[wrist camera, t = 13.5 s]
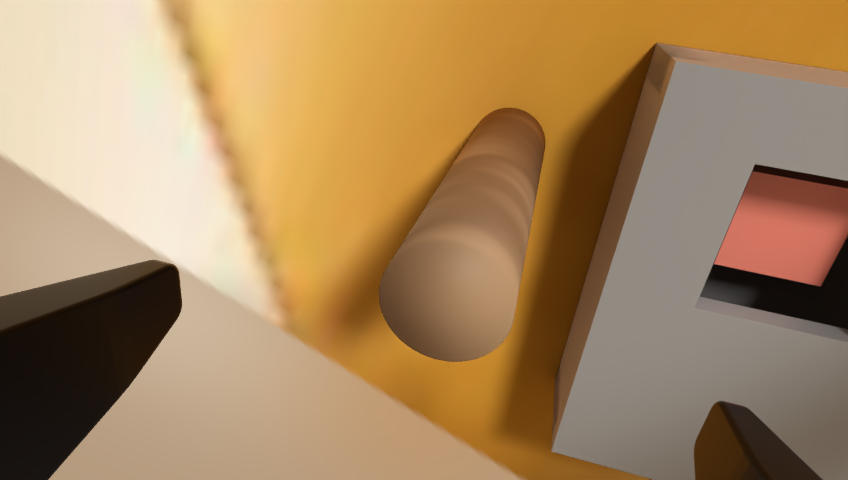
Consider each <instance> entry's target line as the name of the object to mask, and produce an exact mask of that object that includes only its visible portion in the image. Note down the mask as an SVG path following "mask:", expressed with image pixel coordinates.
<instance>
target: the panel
mask: <svg viewBox="0 0 848 480" xmlns="http://www.w3.org/2000/svg"><path fill="white" fill-rule="evenodd" d="M755 164H758V165H763V166H769V167H774V168H780V169H785V170H791V171H796V172H802V173H807V174H813V175H818V176H824V177H829V178H835V179H840V180H846V181H848V72H843V71H837V70H830V69H824V68H817V67H811V66H804V65H797V64H791V63H784V62H778V61H771V60H765V59H758V58H752V57H745V56H739V55H732V54H725V53H719V52H712V51H706V50H699V49H693V48H686V47H680V46H673V45H667V44H660V43H656V45H655V49H654V52H653V55H652V59H651V62H650V65H649V69H648V72H647V75H646V79H645V82H644V85H643V89H642V92H641V95H640V99H639V102H638V105H637V109H636V112H635V115H634V119H633V122H632V125H631V129H630V132H629V136H628V139H627V142H626V146H625V149H624V152H623V156H622V159H621V162H620V166H619V169H618V172H617V176H616V179H615V182H614V186H613V189H612V192H611V196H610V199H609V202H608V206H607V209H606V212H605V216H604V219H603V222H602V226H601V229H600V233H599V236H598V239H597V243H596V246H595V249H594V253H593V256H592V259H591V263H590V266H589V269H588V273H587V276H586V279H585V283H584V286H583V289H582V293H581V296H580V299H579V303H578V306H577V309H576V313H575V316H574V319H573V323H572V326H571V330H570V333H569V336H568V340H567V343H566V346H565V350H564V353H563V356H562V360H561V363H560V366H559V370H558V373H557V376H556V380H555V391H554V410H553V429H552V448H551V452H555V453H558V454H562V455H566V456H569V457H573V458H577V459H580V460H584V461H588V462H591V463H595V464H598V465H602V466H606V467H609V468H613V469H617V470H620V471H624V472H627V473H631V474H635V475H638V476H642V477H646V478H649V479H653V480H695V468H694V446H695V441H696V438H697V436H698V434H699V432H700V430H701V428H702V426H703V424H704V422H705V420H706V418H707V416H708V413H709V411H710V409H711V407H712V406H713V405H714V404H715V403H716V402H718V401H725V402H729V403H733V404H737V405H741V406H745V407H747V408H748V409H750V410H751V411H752V412H753V413H754V414H755V415H756V416H757V417H758V418H759V419H760V420H761V421H762V422H763V423H764V424H765V425H766V426H768V427H769V428H770V429H771V430H772V431H773V432H774V433H775V434H776V435H777V436H778V437H779V438H780V439H781V440H782V441H783V442H784V443H785V444H786V445H787V446H788V447H789V448H790V449H791V450H793V451H794V452H795V453H796V454H797V455H798V456H799V457H800V458H801V459H802V460H803V461H804V462H805V463H806V464H807V465H808V466H809V467H810V468H811V469H812V470H813V471H814V472H815V473H816V474H818V475H819V476H820V477H821V478H822V479H823V480H848V236H847V238H846V240H845V242H844V244H843V246H842V247H841V249H840V251H839V253H838V255H837V257H836V259H835V261H834V262H833V264H832V266H831V268H830V270H829V272H828V274H827V276H826V277H825V279H824V281H823V283H822V285H821V286H816V285H811V284H806V283H802V282H797V281H792V280H788V279H783V278H778V277H773V276H769V275H764V274H759V273H754V272H750V271H745V270H740V269H736V268H731V267H726V266H721V265H717V264H714V261H715V258H716V256H717V254H718V251H719V249H720V246H721V244H722V242H723V239H724V237H725V235H726V232H727V230H728V227H729V225H730V223H731V220H732V218H733V215H734V213H735V211H736V208H737V206H738V203H739V201H740V199H741V196H742V194H743V191H744V189H745V187H746V184H747V182H748V180H749V177H750V175H751V172H752V170H753V168H754V165H755Z"/></svg>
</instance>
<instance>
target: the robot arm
mask: <svg viewBox="0 0 848 480" xmlns="http://www.w3.org/2000/svg"><path fill="white" fill-rule="evenodd" d="M181 307H182V298H181V288H180V278H179V271H178V269H177V267H176V266H175V265H173V264H170V263H166V262H162V261H158V260H149V261H145V262H141V263H137V264H133V265H128V266H124V267H120V268H116V269H112V270H108V271H104V272H100V273H96V274H91V275H88V276H83V277H79V278H75V279H71V280H67V281H63V282H58V283H54V284H50V285H46V286H42V287H38V288H34V289H30V290H26V291H21V292H17V293H13V294H9V295H5V296H1V297H0V480H48V479H49V478H50V477H51V476H52V474H54V472H55V471H56V470H57V469H58V468H59V467H60V465H61V464H62V463H63V462H64V461H65V460H66V459H67V457H68V456H69V455H70V454H71V453H72V452H73V450H74V449H75V448H76V447H77V446H78V445H79V444H80V442H81V441H82V440H83V439H84V438H85V437H86V436H87V434H88V433H89V432H90V431H91V430H92V429H93V428H94V426H95V425H96V424H97V423H98V422H99V421H100V419H101V418H102V417H103V416H104V415H105V414H106V412H107V411H108V410H109V409H110V408H111V407H112V405H114V403H115V402H116V401H117V400H118V399H119V397H120V396H121V395H122V394H123V393H124V392H125V390H126V389H127V388H128V387H129V386H130V384H131V383H132V381H133V380H134V379H135V378H136V376H137V375H138V374H139V372H140V371H141V369H142V368H143V366H144V365H145V364H146V362H147V361H148V359H149V358H150V357H151V355H152V354H153V352H154V351H155V349H156V348H157V347H158V345H159V344H160V342H161V341H162V340H163V338H164V337H165V335H166V334H167V332H168V331H169V329H170V328H171V327H172V325H173V324H174V322H175V321H176V320H177V318H178V316H179V314H180V312H181ZM694 468H695V480H823V479H822V478H821V477H820V476H819V475H818V474H816V473H815V472H814V471H813V470H812V469H811V468H810V467H809V466H808V465H807V464H806V463H805V462H804V461H803V460H802V459H801V458H800V457H799V456H798V455H797V454H796V453H795V452H794V451H793V450H791V449H790V448H789V447H788V446H787V445H786V444H785V443H784V442H783V441H782V440H781V439H780V438H779V437H778V436H777V435H776V434H775V433H774V432H773V431H772V430H771V429H770V428H769V427H768V426H766V425H765V424H764V423H763V422H762V421H761V420H760V419H759V418H758V417H757V416H756V415H755V414H754V413H753V412H752V411H751V410H750V409H748V408H747V407H745V406H741V405H737V404H733V403H729V402H725V401H718V402H716V403H715V404H714V405H713V406H712V407H711V409H710V411H709V413H708V416H707V418H706V420H705V422H704V424H703V426H702V428H701V430H700V432H699V434H698V436H697V438H696V441H695V446H694Z"/></svg>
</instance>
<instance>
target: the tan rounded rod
mask: <svg viewBox="0 0 848 480" xmlns="http://www.w3.org/2000/svg"><path fill="white" fill-rule="evenodd" d="M544 151H545V136H544V132H543V130H542V127H541V126H540V124H539V123H538V121H537V120H536V119H535V118H534V117H533V116H531V115H530V114H529V113H527V112H525V111H523V110H520V109H516V108H502V109H498V110H495V111H493V112H491V113H489V114H488V115H487V116H485V117H484V118H483V119H482V120H481V121H480V123H479V124H478V126H477V127H476V129H475V130H474V132H473V133H472V135H471V137H470V138H469V140H468V141H467V143H466V144H465V146H464V148H463V149H462V151H461V152H460V154H459V155H458V157H457V158H456V160H455V162H454V163H453V165H452V166H451V168H450V169H449V171H448V173H447V174H446V176H445V177H444V179H443V180H442V182H441V184H440V185H439V187H438V188H437V190H436V191H435V193H434V194H433V196H432V198H431V199H430V201H429V202H428V204H427V205H426V207H425V209H424V210H423V212H422V213H421V215H420V216H419V218H418V219H417V221H416V223H415V224H414V226H413V227H412V229H411V230H410V232H409V234H408V235H407V237H406V238H405V240H404V241H403V243H402V245H401V246H400V248H399V249H398V251H397V252H396V254H395V255H394V257H393V259H392V260H391V262H390V263H389V265H388V266H387V268H386V270H385V272H384V274H383V276H382V279H381V282H380V287H379V301H380V307H381V311H382V313H383V316H384V318H385V320H386V322H387V324H388V326H389V327H390V328H391V330H392V331H393V332H394V334H395V335H396V336H397V337H398V338H399V339H400V340H401V341H402V342H404V343H405V344H406V345H407V346H409V347H410V348H412V349H413V350H415V351H417V352H419V353H421V354H423V355H425V356H428V357H431V358H434V359H438V360H443V361H451V362H461V361H469V360H473V359H477V358H480V357H482V356H485V355H487V354H488V353H490V352H492V351H493V350H495V349H496V348H497V347H498V346H499V345H500V344H501V343H502V342H503V341H504V340H505V338H506V337H507V336H508V334H509V332H510V330H511V327H512V324H513V320H514V315H515V309H516V304H517V298H518V293H519V287H520V282H521V276H522V271H523V265H524V260H525V255H526V249H527V244H528V238H529V233H530V227H531V222H532V216H533V211H534V205H535V200H536V195H537V189H538V184H539V178H540V173H541V167H542V162H543V156H544Z"/></svg>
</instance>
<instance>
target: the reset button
mask: <svg viewBox="0 0 848 480" xmlns="http://www.w3.org/2000/svg"><path fill="white" fill-rule="evenodd" d="M847 236H848V181H846V180H840V179H835V178H829V177H824V176H818V175H813V174H807V173H802V172H796V171H791V170H785V169H780V168H774V167H769V166H763V165H758V164H755V165H754V168H753V170H752V172H751V175H750V177H749V180H748V182H747V184H746V187H745V189H744V191H743V194H742V196H741V199H740V201H739V203H738V206H737V208H736V211H735V213H734V215H733V218H732V220H731V223H730V225H729V227H728V230H727V232H726V235H725V237H724V239H723V242H722V244H721V246H720V249H719V251H718V254H717V256H716V258H715V261H714V264H717V265H721V266H726V267H731V268H736V269H740V270H745V271H750V272H754V273H759V274H764V275H769V276H773V277H778V278H783V279H788V280H792V281H797V282H802V283H806V284H811V285H816V286H821V285H822V283H823V281H824V279H825V277H826V276H827V274H828V272H829V270H830V268H831V266H832V264H833V262H834V261H835V259H836V257H837V255H838V253H839V251H840V249H841V247H842V246H843V244H844V242H845V240H846V238H847Z"/></svg>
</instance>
